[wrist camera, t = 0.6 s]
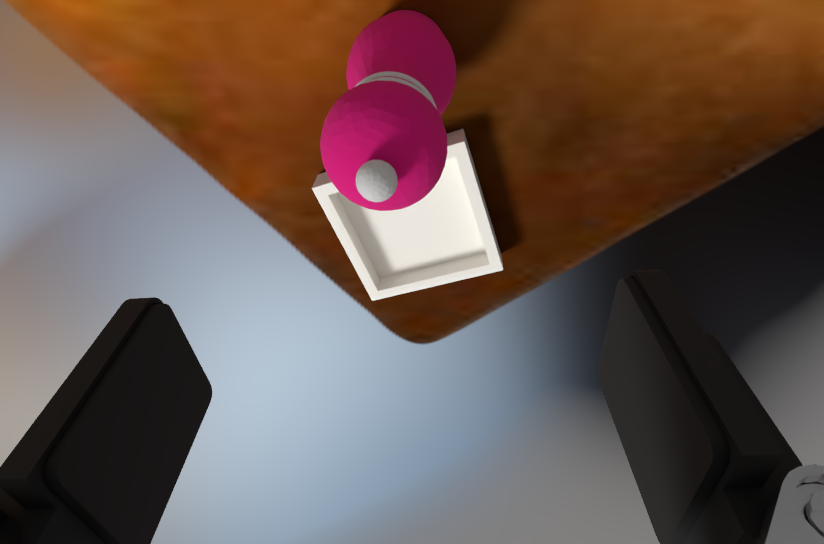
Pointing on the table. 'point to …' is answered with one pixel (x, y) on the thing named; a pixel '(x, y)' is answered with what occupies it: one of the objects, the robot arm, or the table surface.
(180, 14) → the table surface
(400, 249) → the ceramic dish
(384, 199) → the pepper mill
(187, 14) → the table surface
